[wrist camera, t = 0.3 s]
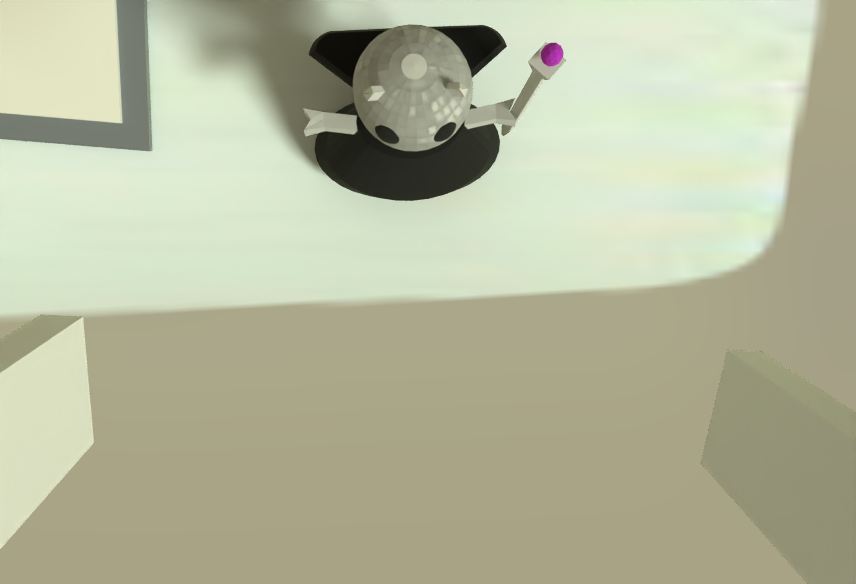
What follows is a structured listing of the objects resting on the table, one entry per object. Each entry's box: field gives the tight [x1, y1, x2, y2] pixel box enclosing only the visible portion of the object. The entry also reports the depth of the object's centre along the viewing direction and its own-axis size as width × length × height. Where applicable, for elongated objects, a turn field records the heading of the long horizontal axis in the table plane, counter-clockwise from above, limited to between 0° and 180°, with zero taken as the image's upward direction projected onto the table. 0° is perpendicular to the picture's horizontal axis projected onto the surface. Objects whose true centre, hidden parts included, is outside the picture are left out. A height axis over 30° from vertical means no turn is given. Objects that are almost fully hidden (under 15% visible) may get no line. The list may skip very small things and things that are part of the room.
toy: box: [303, 25, 566, 201], centre depth 30 cm, size 12×7×15 cm, turn 93°
